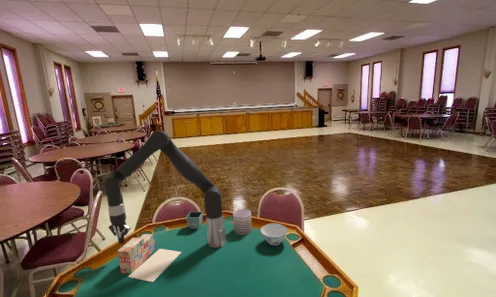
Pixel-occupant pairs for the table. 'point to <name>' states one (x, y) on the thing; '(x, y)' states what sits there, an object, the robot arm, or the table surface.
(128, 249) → the stack of blocks
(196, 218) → the flower pot
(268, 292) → the table surface
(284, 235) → the chinaware
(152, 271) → the mat
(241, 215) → the can
